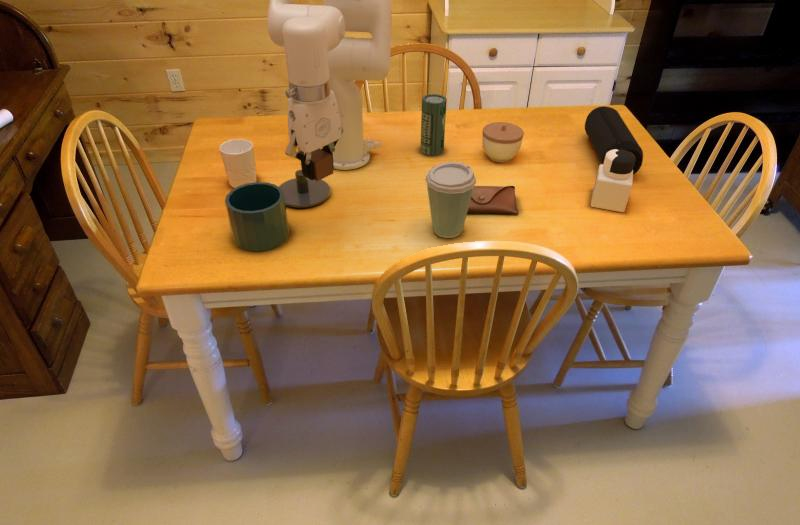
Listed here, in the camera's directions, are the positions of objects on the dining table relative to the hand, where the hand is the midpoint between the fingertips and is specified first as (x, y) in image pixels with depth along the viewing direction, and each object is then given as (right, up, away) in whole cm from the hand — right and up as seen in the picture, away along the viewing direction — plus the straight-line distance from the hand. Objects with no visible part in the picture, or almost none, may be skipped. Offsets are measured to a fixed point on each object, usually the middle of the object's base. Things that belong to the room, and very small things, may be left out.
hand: (318, 171), depth 117 cm
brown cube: (0, 0, 0) cm, 0 cm away
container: (+67, -4, +19) cm, 70 cm away
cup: (-14, -13, +7) cm, 20 cm away
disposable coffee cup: (+28, -12, +9) cm, 31 cm away
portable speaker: (+74, +10, +36) cm, 83 cm away
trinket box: (+44, +10, +36) cm, 58 cm away
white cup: (-22, +1, +24) cm, 33 cm away
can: (+26, +12, +38) cm, 48 cm away
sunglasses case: (+36, -6, +17) cm, 40 cm away
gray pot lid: (-6, -2, +20) cm, 21 cm away
